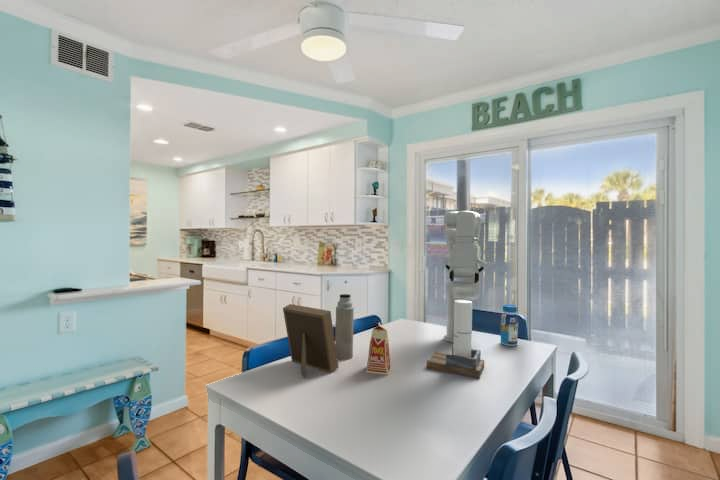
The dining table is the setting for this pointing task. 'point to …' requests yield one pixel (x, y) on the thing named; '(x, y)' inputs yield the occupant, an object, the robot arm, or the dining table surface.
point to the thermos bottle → (344, 328)
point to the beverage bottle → (509, 325)
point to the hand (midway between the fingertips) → (463, 281)
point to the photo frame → (311, 338)
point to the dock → (457, 364)
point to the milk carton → (379, 352)
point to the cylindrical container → (462, 328)
